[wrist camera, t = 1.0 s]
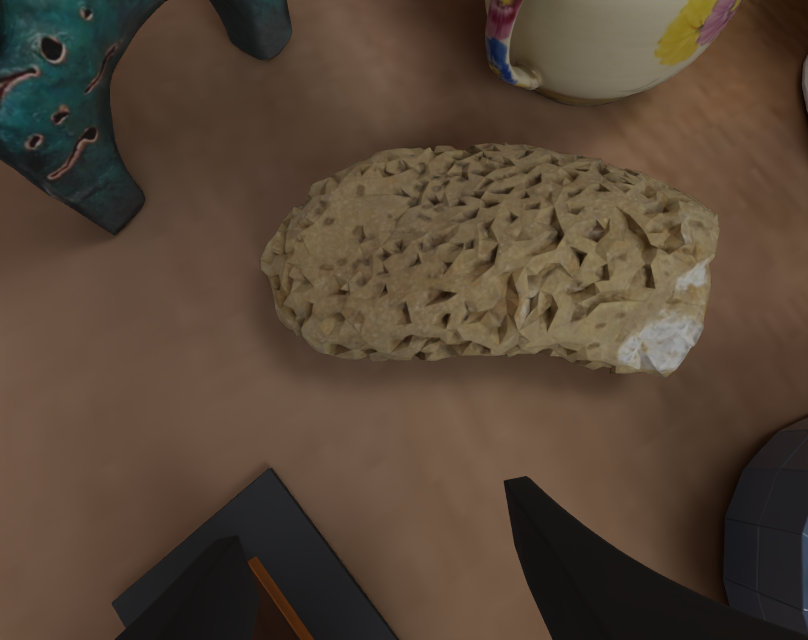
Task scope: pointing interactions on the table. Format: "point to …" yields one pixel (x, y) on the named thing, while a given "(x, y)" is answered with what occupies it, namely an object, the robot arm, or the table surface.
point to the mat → (273, 564)
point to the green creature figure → (90, 91)
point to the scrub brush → (274, 610)
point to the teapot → (598, 44)
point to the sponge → (495, 260)
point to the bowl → (771, 533)
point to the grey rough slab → (805, 81)
